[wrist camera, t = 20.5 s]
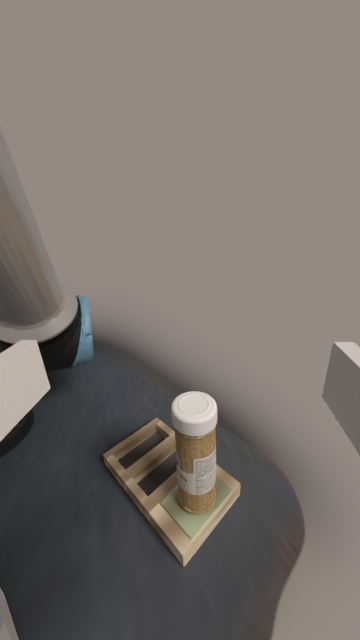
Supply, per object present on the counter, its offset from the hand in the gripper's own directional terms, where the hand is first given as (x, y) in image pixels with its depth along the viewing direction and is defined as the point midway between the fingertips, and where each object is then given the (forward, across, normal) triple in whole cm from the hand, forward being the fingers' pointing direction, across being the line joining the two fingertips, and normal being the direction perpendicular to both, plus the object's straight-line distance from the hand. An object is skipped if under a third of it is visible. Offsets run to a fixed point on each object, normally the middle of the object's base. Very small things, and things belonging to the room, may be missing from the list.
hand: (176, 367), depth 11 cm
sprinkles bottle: (+10, 0, -24) cm, 26 cm away
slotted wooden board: (+13, -4, -26) cm, 30 cm away
